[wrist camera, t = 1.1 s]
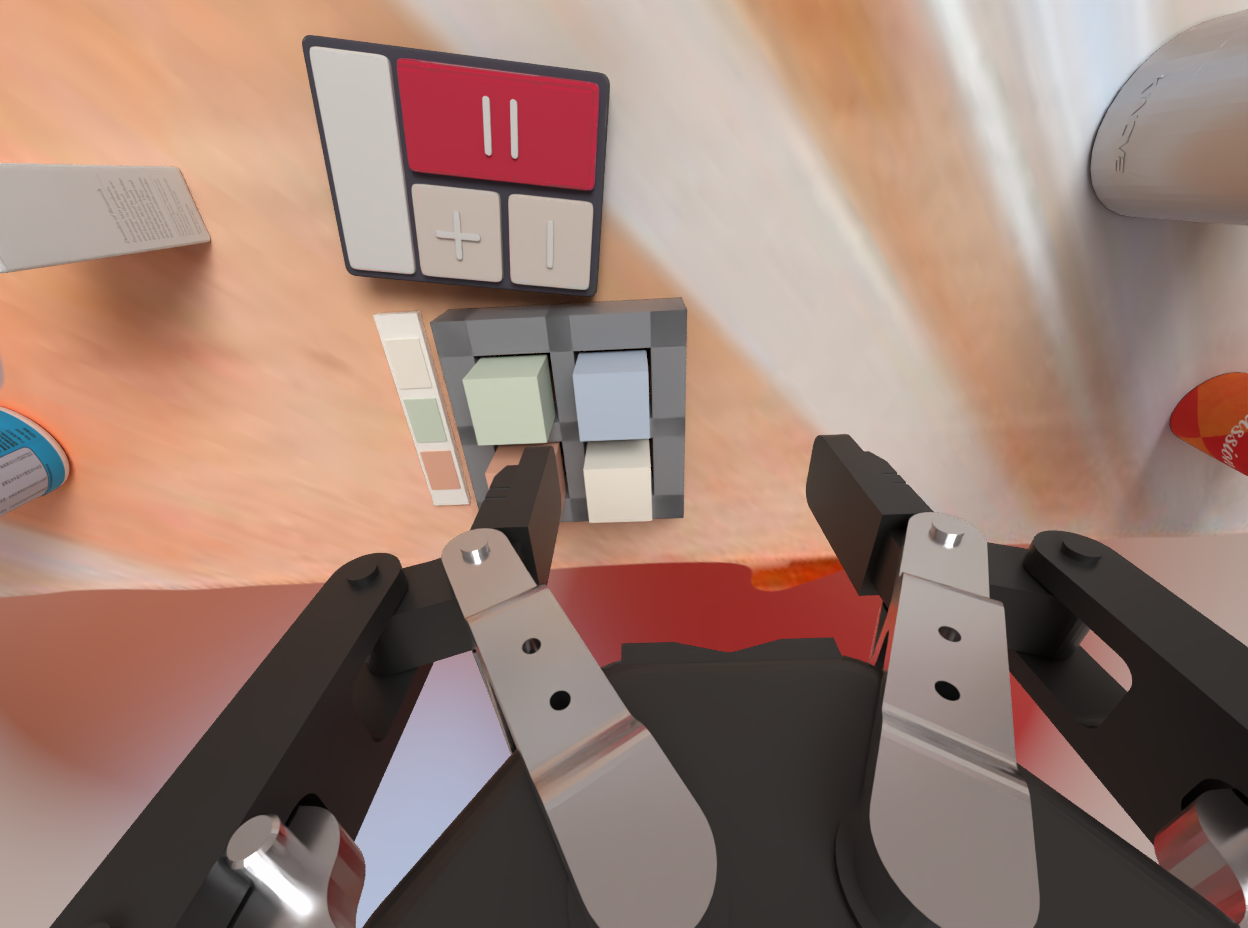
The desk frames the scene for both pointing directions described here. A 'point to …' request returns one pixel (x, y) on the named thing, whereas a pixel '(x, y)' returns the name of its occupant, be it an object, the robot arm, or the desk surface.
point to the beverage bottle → (27, 461)
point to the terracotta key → (512, 456)
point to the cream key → (618, 481)
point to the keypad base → (564, 337)
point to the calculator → (462, 165)
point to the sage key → (510, 400)
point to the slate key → (612, 395)
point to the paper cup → (1216, 419)
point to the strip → (423, 404)
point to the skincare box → (91, 213)
